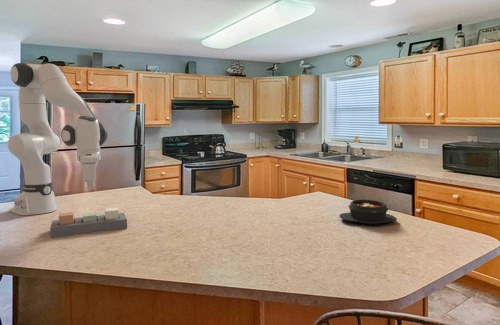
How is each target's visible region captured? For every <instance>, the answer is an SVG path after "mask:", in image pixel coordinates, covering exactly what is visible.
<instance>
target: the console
mask: <svg viewBox="0 0 500 325" xmlns="http://www.w3.org/2000/svg"><path fill="white" fill-rule="evenodd" d="M118 215H119V219H110V220H105V214H100V215H96V217H97V221H93V222H84V223H83V216H82V217H74V224H66V225H59V219H53V220H51V225H50V227H49V231H50V239H55V238H63V237H64V238H65V237H69V236H70V237H71V236H78V235H80V236H81V235H86V234H94V233H101V232H109V231H110V232H111V231H119V230H125V229H128V219H127V216H126V214H125V212H120V213H119V212H118Z"/></svg>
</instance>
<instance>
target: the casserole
mask: <svg viewBox="0 0 500 325" xmlns="http://www.w3.org/2000/svg"><path fill="white" fill-rule="evenodd" d="M348 209H349V211H350V212H343V213H340V214H339V215H338V216H339V218H340V219H342V220H344V221H347V222H354V223H355V222H356V223H359V224H362V225H369V226H371V225H373V226H374V225H375V226H376V225H381V224H384V223H392V222H396V221H398V219H397V218H396V217H395V216H394V215H393V214H392V215H391V214H389V213H387V212H388V211H389V208H388V207H387V204H386V203H385V202H382V201H378V200H374V199H356V200H352V201H351V202H350V204H349V205H348Z"/></svg>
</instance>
